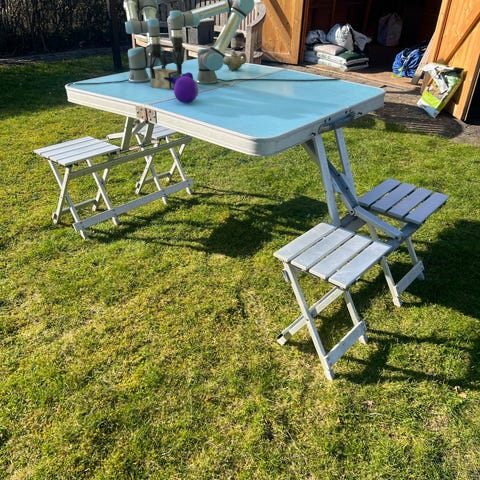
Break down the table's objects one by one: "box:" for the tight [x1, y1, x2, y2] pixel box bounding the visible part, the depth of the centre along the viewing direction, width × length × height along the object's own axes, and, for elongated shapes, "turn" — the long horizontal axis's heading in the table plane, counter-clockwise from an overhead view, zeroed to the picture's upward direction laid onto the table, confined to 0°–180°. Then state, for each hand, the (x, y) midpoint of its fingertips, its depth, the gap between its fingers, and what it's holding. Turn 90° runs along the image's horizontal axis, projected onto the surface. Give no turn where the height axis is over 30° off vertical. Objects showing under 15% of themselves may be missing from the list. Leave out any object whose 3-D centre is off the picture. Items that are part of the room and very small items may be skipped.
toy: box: [164, 72, 199, 104], centre depth 277 cm, size 16×18×27 cm
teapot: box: [223, 50, 247, 72], centre depth 367 cm, size 21×12×15 cm, turn 120°
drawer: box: [169, 72, 181, 89], centre depth 314 cm, size 22×9×9 cm, turn 56°
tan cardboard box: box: [149, 67, 177, 90], centre depth 317 cm, size 18×10×11 cm, turn 56°
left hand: (158, 77), depth 320 cm, fingers closed on tan cardboard box, 10 cm apart
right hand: (179, 74), depth 308 cm, fingers closed
